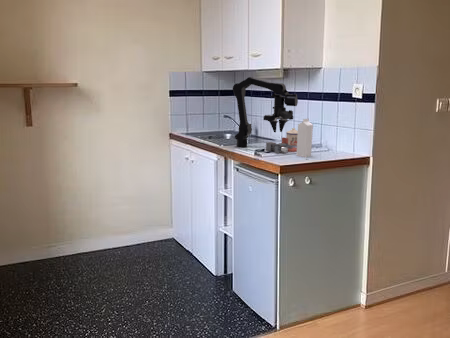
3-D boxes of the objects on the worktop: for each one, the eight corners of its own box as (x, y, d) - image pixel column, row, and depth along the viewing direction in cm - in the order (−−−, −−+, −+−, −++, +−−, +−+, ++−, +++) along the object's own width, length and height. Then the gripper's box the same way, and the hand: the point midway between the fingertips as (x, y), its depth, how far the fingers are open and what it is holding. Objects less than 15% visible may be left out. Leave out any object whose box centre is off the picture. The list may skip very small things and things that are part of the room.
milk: (310, 158, 259) (313, 118, 254) (305, 159, 254) (308, 119, 249) (301, 156, 262) (304, 117, 258) (295, 158, 258) (298, 118, 253)
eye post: (274, 153, 264) (274, 144, 263) (284, 152, 269) (285, 143, 267) (277, 154, 262) (277, 144, 261) (287, 152, 267) (288, 143, 266)
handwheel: (301, 150, 272) (301, 139, 271) (290, 152, 267) (290, 140, 266) (287, 147, 282) (288, 136, 280) (276, 149, 276) (277, 138, 275)
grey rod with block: (265, 150, 273) (266, 142, 272) (271, 149, 275) (271, 141, 274) (283, 154, 261) (283, 146, 260) (288, 153, 263) (289, 145, 262)
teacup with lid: (290, 147, 291) (291, 129, 288) (282, 145, 299) (283, 127, 296) (306, 146, 296) (307, 128, 293) (298, 144, 304) (299, 126, 301)
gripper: (276, 107, 257) (275, 135, 261) (300, 105, 268) (299, 132, 271) (263, 105, 266) (262, 132, 269) (287, 104, 277) (286, 130, 280)
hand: (277, 132), depth 272 cm, fingers open, 4 cm apart
